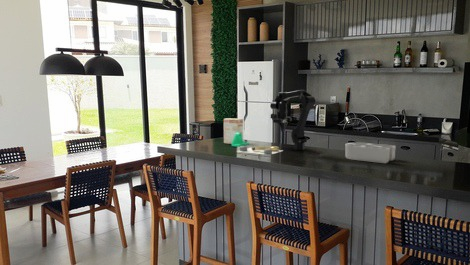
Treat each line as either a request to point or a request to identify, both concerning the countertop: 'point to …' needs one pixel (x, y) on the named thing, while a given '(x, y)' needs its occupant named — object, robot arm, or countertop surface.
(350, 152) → the ice cube tray
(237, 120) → the coffeecake box
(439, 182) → the countertop surface
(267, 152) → the leveling plate
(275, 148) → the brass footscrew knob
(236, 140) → the green tapered piece
